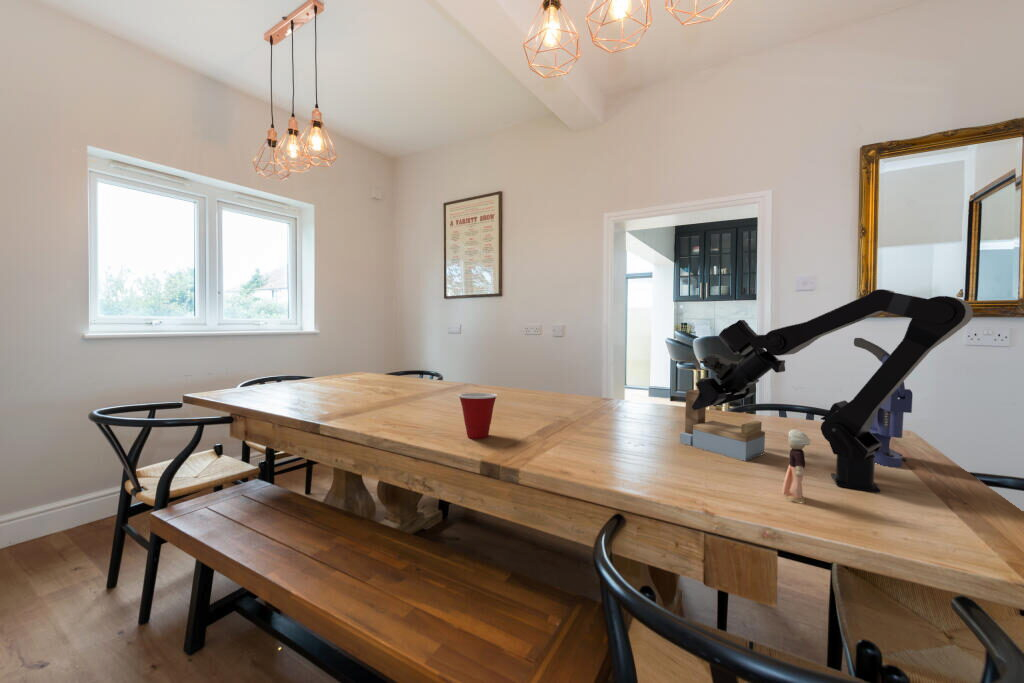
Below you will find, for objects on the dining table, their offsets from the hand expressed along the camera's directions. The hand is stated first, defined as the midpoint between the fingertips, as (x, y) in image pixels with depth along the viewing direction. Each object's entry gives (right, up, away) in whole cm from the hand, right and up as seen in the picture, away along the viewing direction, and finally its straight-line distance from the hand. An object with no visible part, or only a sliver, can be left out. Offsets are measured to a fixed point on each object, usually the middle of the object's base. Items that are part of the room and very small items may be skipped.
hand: (703, 406), depth 105 cm
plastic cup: (-60, -9, +7) cm, 61 cm away
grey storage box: (+3, -10, -3) cm, 11 cm away
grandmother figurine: (+1, -12, -32) cm, 34 cm away
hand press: (+36, -11, -9) cm, 39 cm away
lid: (+4, -6, -5) cm, 8 cm away
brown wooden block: (-1, -10, +2) cm, 10 cm away
